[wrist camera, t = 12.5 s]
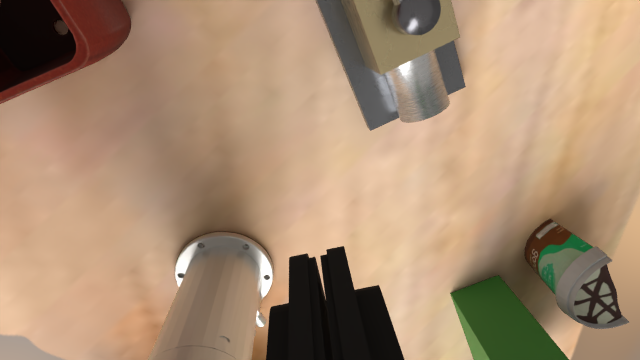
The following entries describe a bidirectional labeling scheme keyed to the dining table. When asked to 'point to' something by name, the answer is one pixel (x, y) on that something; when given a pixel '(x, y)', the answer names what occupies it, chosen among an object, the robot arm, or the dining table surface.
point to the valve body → (394, 60)
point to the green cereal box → (501, 324)
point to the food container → (575, 275)
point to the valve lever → (415, 15)
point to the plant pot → (55, 40)
